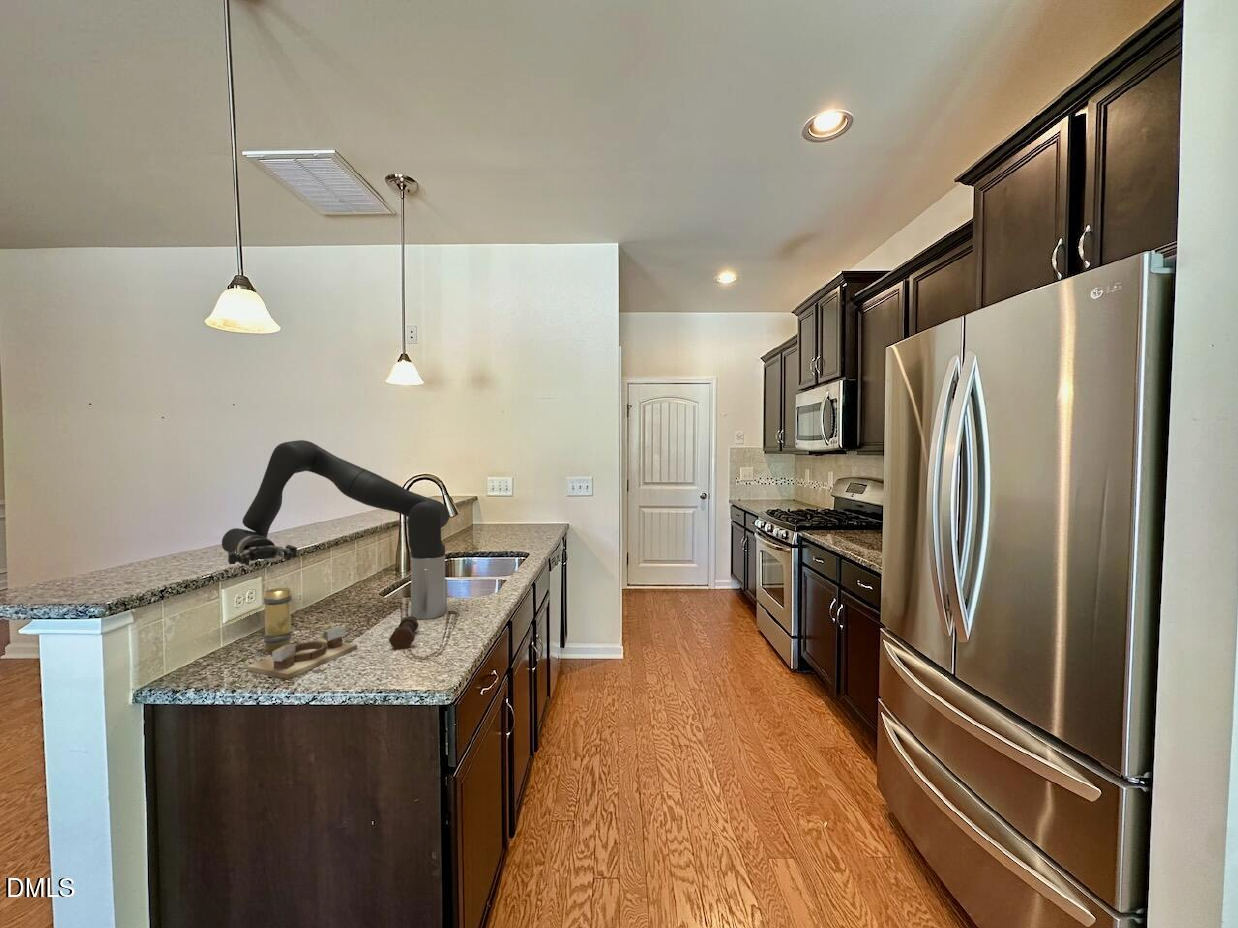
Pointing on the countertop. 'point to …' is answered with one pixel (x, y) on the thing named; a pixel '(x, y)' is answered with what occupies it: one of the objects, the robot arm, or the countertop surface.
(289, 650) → the pair of grey blocks
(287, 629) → the cylinder
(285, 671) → the coupling base
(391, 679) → the countertop surface
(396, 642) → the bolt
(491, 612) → the countertop surface
